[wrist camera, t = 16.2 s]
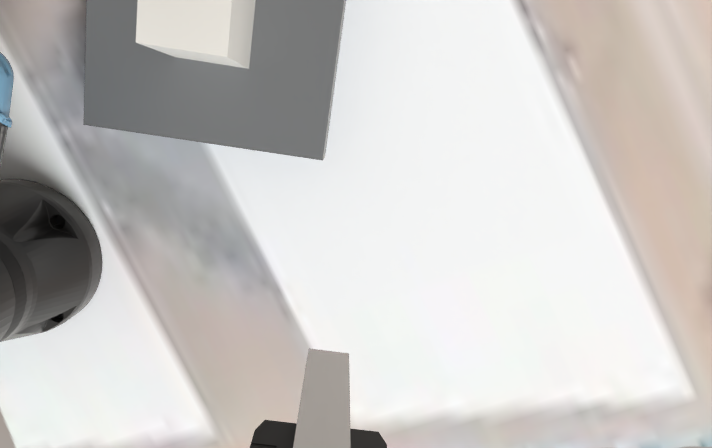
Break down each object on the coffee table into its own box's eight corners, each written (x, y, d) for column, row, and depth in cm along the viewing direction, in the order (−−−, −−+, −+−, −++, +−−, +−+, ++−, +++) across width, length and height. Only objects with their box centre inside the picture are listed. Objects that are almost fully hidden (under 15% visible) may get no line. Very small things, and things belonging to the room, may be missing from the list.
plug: (187, 61, 41) (135, 42, 31) (195, -45, 39) (142, -104, 29) (256, 72, 41) (227, 57, 31) (266, -33, 39) (239, -87, 29)
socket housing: (112, 124, 43) (83, 124, 39) (121, -116, 39) (90, -149, 34) (325, 155, 45) (322, 160, 40) (356, -74, 40) (357, -101, 35)
